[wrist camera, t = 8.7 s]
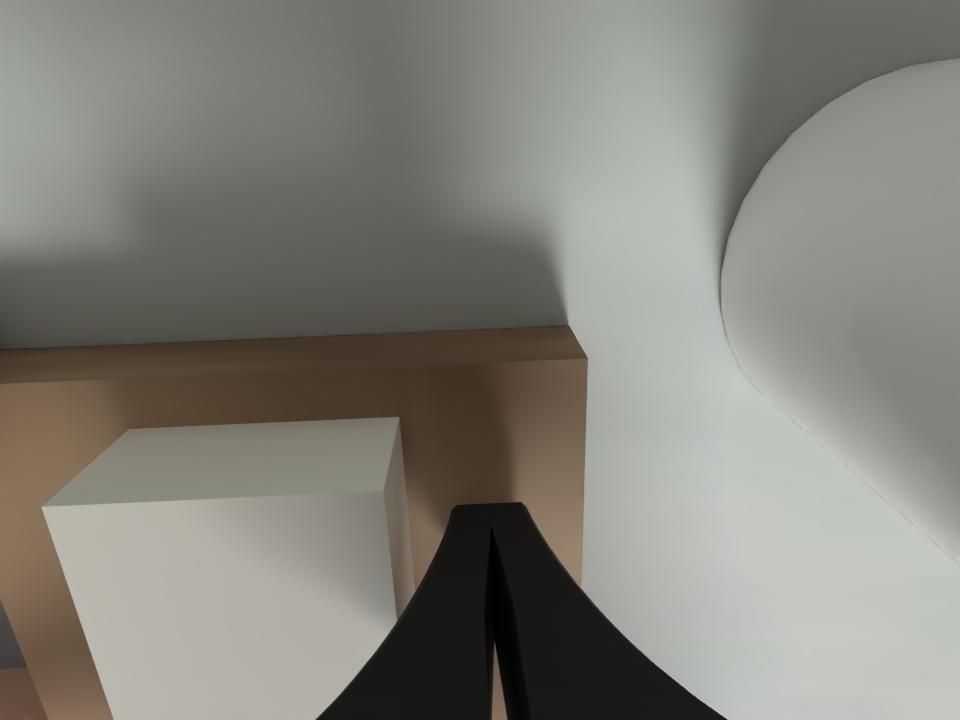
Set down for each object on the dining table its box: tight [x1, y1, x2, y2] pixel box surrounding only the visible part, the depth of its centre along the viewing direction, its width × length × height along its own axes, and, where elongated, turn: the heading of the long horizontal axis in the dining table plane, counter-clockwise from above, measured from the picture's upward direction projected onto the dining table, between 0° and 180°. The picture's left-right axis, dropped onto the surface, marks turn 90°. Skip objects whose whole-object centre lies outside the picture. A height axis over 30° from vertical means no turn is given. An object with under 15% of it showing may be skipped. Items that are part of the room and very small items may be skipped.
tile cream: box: [42, 417, 415, 720], centre depth 11 cm, size 5×5×2 cm
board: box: [0, 326, 588, 720], centre depth 14 cm, size 14×12×2 cm
